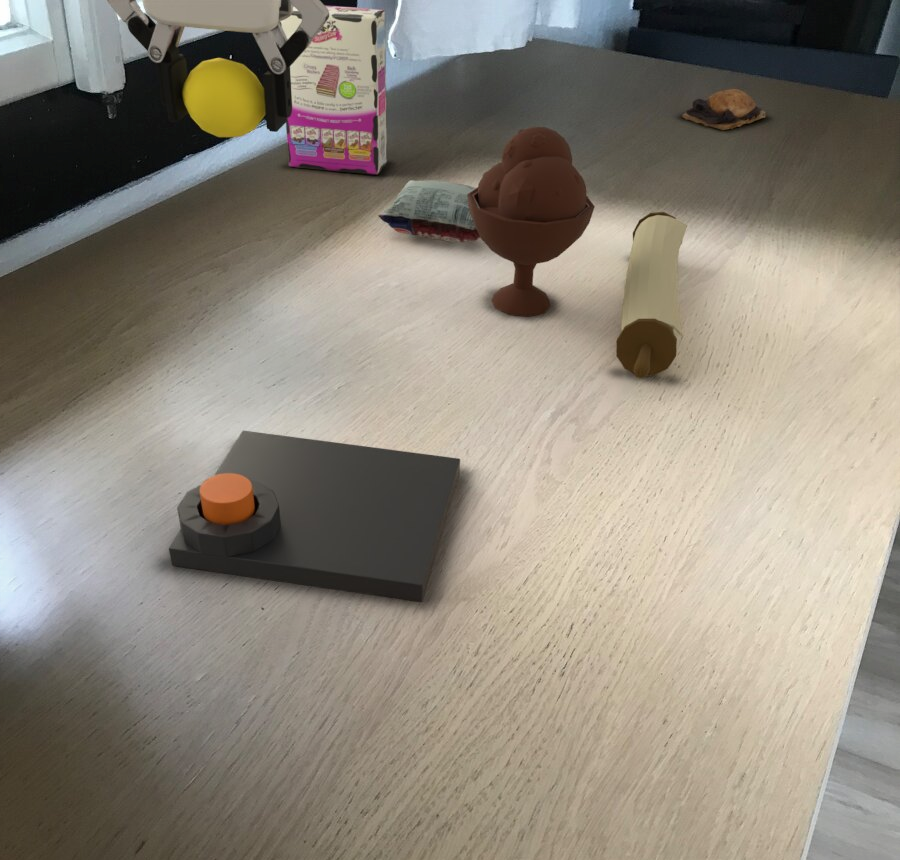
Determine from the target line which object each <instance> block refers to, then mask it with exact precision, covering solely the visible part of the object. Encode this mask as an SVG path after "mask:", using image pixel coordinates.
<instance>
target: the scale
mask: <svg viewBox="0 0 900 860" xmlns="http://www.w3.org/2000/svg"><path fill="white" fill-rule="evenodd" d="M460 470H461V458H458V457H449V456H443V455H435V454H427V453H419V452H411V451H404V450H397V449H390V448H381V447H373V446H365V445H359V444H352V443H351V444H350V443H343V442H335V441H329V440H319V439H311V438H304V437H296V436H288V435H282V434H281V435H280V434H274V433H266V432H259V431H250V430H242V431H241V432H240V434H239V435H238V437H237V439H236V440H235V442H234V443H233V445H232V447H231V449H230V450H229V451H228V453H227V454H226V456H225V458H224V459H223V461H222V463H221V464H220V466H219V467H218V468H217V471H216V472H215V474H214V475H213V476H215V475H218V474H224V473H233V474H239V475H242V476H244V477H246V478H247V479H249V480H250V482H251V484H252V488H253V497H254V505H255V510H254V513H253V515H252V516H251V517H250V518H248V519H247V520H245V521H243V522H239V523H234V524H228V525H223V524H216V523H211V522H209V521H208V520H207V519H206V518H205V517H204V515H203V510H202V504H201V497H200V486H201V484H199V485H198V486H195V487H194V488H192V489H190V490H188V491H187V492H186V493H185V494H184V496H183V497H182V499H181V500H180V502H179V503H178V505H177V507H176V509H177V514H178V515H177V516H178V520H179V526H180V529H179V531H178V533H177V534H176V536H175V538H174V539H173V541H172V542H171V544H170V546H169V548H168V552H169V557H170V562H171V566H174V567H180V568H188V569H195V570H201V571H209V572H214V573H221V574H229V575H236V576H242V577H249V578H255V579H261V580H262V579H263V580H269V581H277V582H282V583H283V582H285V583H288V584H289V583H290V584H297V585H303V586H309V587H310V586H311V587H317V588H325V589H332V590H337V591H338V590H339V591H344V592H353V593H359V594H366V595H371V596H372V595H373V596H380V597H386V598H393V599H400V600H406V601H413V602H423V599H424V596H425V593H426V589H427V586H428V582H429V579H430V576H431V572H432V569H433V566H434V563H435V559H436V555H437V552H438V549H439V545H440V542H441V538H442V535H443V532H444V528H445V525H446V521H447V518H448V514H449V511H450V508H451V504H452V501H453V498H454V495H455V492H456V491H455V490H456V488H457V484H458V481H459V478H460V473H461V471H460Z"/></svg>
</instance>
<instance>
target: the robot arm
mask: <svg viewBox="0 0 900 860" xmlns="http://www.w3.org/2000/svg"><path fill="white" fill-rule="evenodd" d="M106 1H107V3H108V4H109V6H110V7H111V8H112V9H113V11H114V13H116V14H117V16H118V17H119V18H120V20H121V21H122V22H123V23H125V24H126V25H127V29H128V31H129V33H130V34H131V35H132V36H133V37H134V38H135V40H137V41H138V42H139V44H140V45H141V46H142V47H143V48H144V49H145V50H146V51H147V55H148V57H149V59H150V60H151V61H152V62H154V63H155V64H156V71H157V79H158V85H159V87H158V88H159V94H160V100H161V104H162V106H165V107H166V111H167V119H168V121H169V122H174V123H177V122H179V121H181V120H182V119H183V118H184V117H185V116H187V115H188V114H189V113H188V110H187V108H186V106H185V104H184V101H183V98H182V90H183V87H184V83H185V81H186V79H187V78H188V76H189V74H188V67H187V59H186V57H184V54H182V53H180V52H179V45H180V42H181V38H182V35H183V33H184V30H185V28H192V29H203V30H204V29H205V30H215V31H226V32H227V31H228V32H237V33H251V34H252V36H253V37H254V39H255V42H256V44H257V46H258V47H259V49H260V51H261V53H262V55H263V57H264V59H265V61H266V63H267V71H266V72H265V73H263V75H262V83H263V85H262V86H263V88H264V98H265V112H266V114H265V123H266V126H265V127H266V129H267V130H268V131H269V132H275V133H277V132H278V131H279V130H280V129H281V128H282V127H283V126H284V125H286V121H287V118H289V117H290V116H291V114H292V94H291V76H290V66H291V65H292V64H293V63H294V62H295V60H296V59H297V58H298V57H299V56H300V55H301V54H302V53H303V51H304V50H305V49H306V48H307V47H308V46H309V45H310V44H311V42H312V40H313V39H314V38H315V36H316V35H317V34H318V32H319V31H320V30H321V28H322V27H323V25H324V24H325V23H326V21H327V20H328V18H329V10H328V9H327V8H326V6H327V5H325V4H324V3H323V2H322V1H321V0H141V2H142V6H143V9H144V12H145V13H144V12H143V10H142V9H141V6H140V4H138V2H137V0H106ZM293 6H294V7H295V8H296V9H297V10H298V11H299V12H300V13H301V16H302V21H301V23H300V25H299V27H298V28H297V29H296V31H295V32H294V34H292V36H291V37H290V38H289V39H287V37H286V35H285V33H284V31H283V29H282V27H281V25H280V22H279V21H282V20H285V19H287V18H288V17H290V16H291V14H292V12H293ZM155 22H156V23H155Z"/></svg>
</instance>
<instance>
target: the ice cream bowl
mask: <svg viewBox="0 0 900 860" xmlns="http://www.w3.org/2000/svg"><path fill="white" fill-rule="evenodd" d="M571 150H572V149H571V147H570V145H569V143H568V142H567V141H566V139H565V137H563V136H562V135H561V134H560V133H559V132H558V131H556V130H554V129H551V128H549V127H547V126H531V127H527V128H522V129H519V130H518V131H517V133H516V134H514V135H512V137H511V138H510V140H509V141H507V143H506V144H505V146H504V148H503V149H502V153H501V159H500V162H498V163H497V164H495V165H493V166H492V167H490V169H488V170H487V171H485V172H484V173H483V174H482V176H481V179H480V180H479V182H478V183H477V185H478V186H477V187H475V188H476V189H474V190H473V191H472V192H470V193H469V194H467V197H468V204H469V211H470V214H471V217H472V219H473V222H474V225H475V227H476V229H477V231H478V233H479V236H480V238H479V239H481V241H483V243H484V244H485V245H486V246H487V248H488V249H489V250H490V251H492V252H493V253H494V254H496V255H497V256H499V257H500V258H502V259H505V260H507V261H509V262H511V263H513V266H514V272H513V273H514V274H513V283H511V284H508V285H506V286H503V287H500V288H499V289H498V290H497V291H496V292H494V293H493V296H492V298H491V302H492V305H493V307H494V309H496V310H498V311H500V312H502V313H505V314H506V315H509V316H518V317H519V316H520V317H532V316H537V315H543V314H545V313H546V312H547V311H548V310H549V309H550V308H551V307H552V304H551V299H550V298H549V297H548V294H547V293H546V292H545V291H543V290H542V289H540V288H539V287H537V286H535V285H534V284H533V283H534V271H535V268H536V266H537V264H543V263H547V262H550V261H552V260H554V259H557V258H558V257H559V256H560V255H562V254H563V253H564V252H566V251H567V250H568V249H569V248H570V247H571V246H572V245H573V244H575V243H576V242H577V241H578V240H579V239H580V238H581V237H582V236H583V234H584V232H585V231H586V230H587V228H588V226H589V224H590V223H591V219H592V216H593V213H594V210H595V207H596V206H595V205H594V203H593V202H592V201H591V199H590V198H589V197H588V195H587V186H586V185H587V184H586V182H585V180H584V178H583V177H582V175H581V174H580V172H579V171H578V170H577V168H576V167H575V166H574V165H573V156H572V151H571Z"/></svg>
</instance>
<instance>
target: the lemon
mask: <svg viewBox="0 0 900 860" xmlns="http://www.w3.org/2000/svg"><path fill="white" fill-rule="evenodd" d="M182 98H183V101H184V104H185V106H186V108H187V110H188V114H189V116H190V118H191V119H192V120H193V121H194V122H195V124H196V125H198V126H199V128H200V129H201V130H202V131H204V132H205V133H208V134H210V135H213V136H215V137H218V138H238V137H239V138H240V137H244V136H246V135H248V134H249V133H251V132H253V131H254V130H256V129H257V127H258V125H260V123H261V121H262V120H263V119H264V118H265V117H266V112H265V98H264V85H262V83H261V82H260V80H259V78H258V76H257V75H256V74H255V73H254V72H253V71H252V70H250V69H249V68H248V67H247V66H246V65H245V64H244V63H241V62H237V61H234V60H231V59H227V58H222V57H216V58H211V59H207V60H201V62H200V63H199V64H197V65H196V66H195V67H194V68H193V69H192V70H190V72H189V74H188V78H187V79H186V81H185V83H184V87H183V90H182Z"/></svg>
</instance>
